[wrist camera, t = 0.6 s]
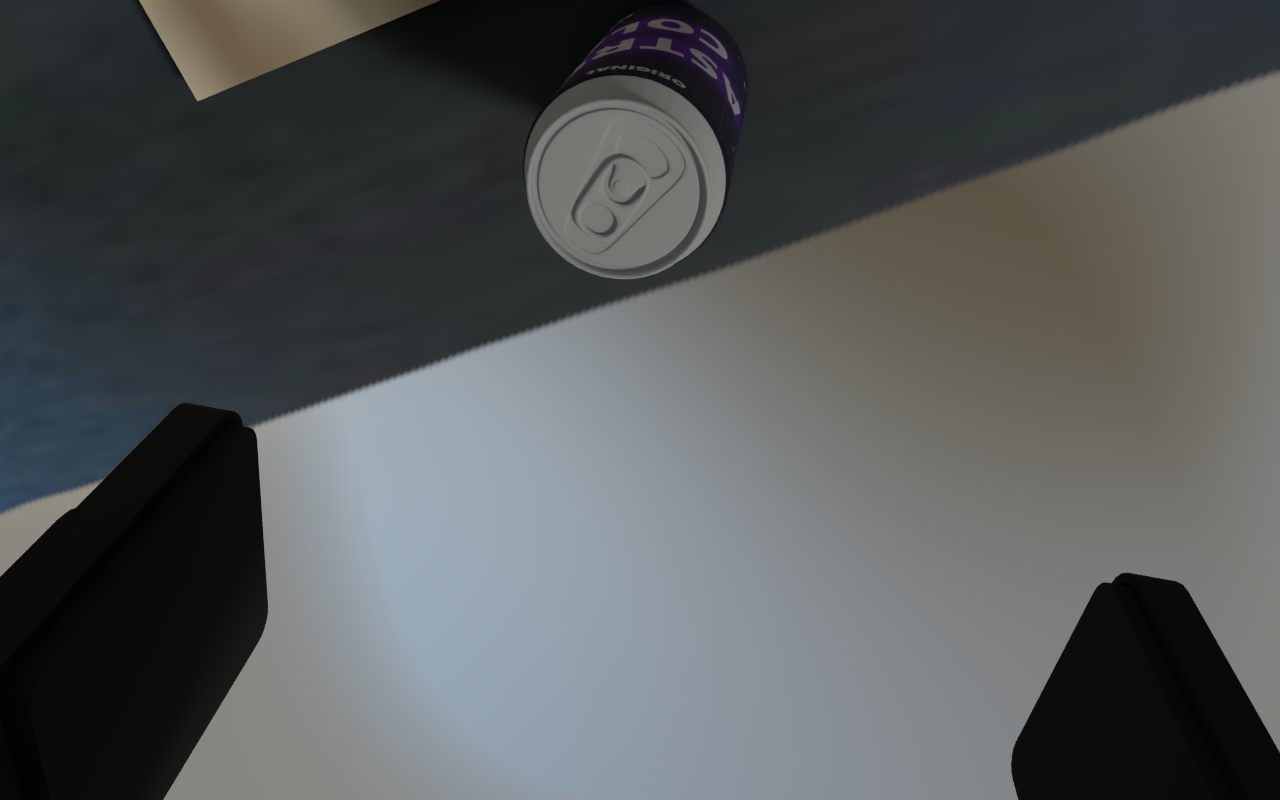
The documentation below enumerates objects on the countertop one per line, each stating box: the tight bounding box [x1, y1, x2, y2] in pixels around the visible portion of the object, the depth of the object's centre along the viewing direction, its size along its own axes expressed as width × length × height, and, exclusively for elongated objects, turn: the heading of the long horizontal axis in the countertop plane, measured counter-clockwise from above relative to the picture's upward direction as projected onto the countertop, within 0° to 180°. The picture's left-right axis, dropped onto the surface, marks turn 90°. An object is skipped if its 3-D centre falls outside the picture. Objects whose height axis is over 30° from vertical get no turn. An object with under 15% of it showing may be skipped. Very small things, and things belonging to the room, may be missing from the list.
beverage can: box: [523, 4, 748, 279], centre depth 31 cm, size 6×6×12 cm
